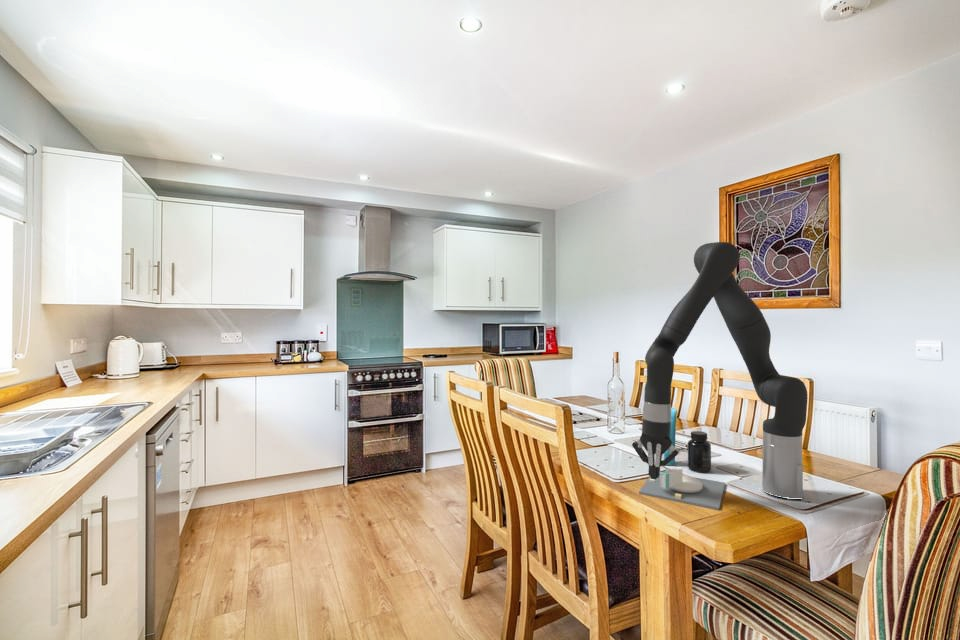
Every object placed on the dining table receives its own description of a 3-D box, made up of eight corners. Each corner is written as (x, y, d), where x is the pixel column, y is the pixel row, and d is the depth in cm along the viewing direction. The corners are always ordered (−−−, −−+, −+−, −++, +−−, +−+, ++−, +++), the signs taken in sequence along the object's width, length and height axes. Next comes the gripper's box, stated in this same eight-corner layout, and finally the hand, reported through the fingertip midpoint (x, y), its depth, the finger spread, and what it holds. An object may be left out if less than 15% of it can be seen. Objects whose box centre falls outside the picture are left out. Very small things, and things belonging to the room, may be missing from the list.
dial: (677, 477, 137) (677, 458, 137) (709, 487, 129) (709, 468, 128) (647, 487, 129) (647, 468, 129) (679, 499, 121) (679, 478, 121)
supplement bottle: (708, 467, 148) (708, 430, 148) (713, 474, 142) (713, 436, 141) (685, 465, 150) (686, 429, 150) (689, 472, 144) (689, 434, 143)
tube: (680, 464, 151) (681, 407, 150) (673, 467, 148) (673, 409, 147) (660, 459, 156) (660, 404, 156) (652, 462, 153) (652, 406, 153)
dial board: (724, 484, 133) (724, 479, 133) (719, 510, 116) (719, 504, 116) (653, 472, 144) (653, 467, 144) (639, 493, 127) (639, 488, 127)
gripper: (629, 416, 128) (626, 477, 128) (679, 424, 121) (676, 488, 121) (635, 412, 134) (633, 469, 135) (684, 419, 127) (681, 479, 127)
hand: (654, 478), depth 128 cm, fingers closed
